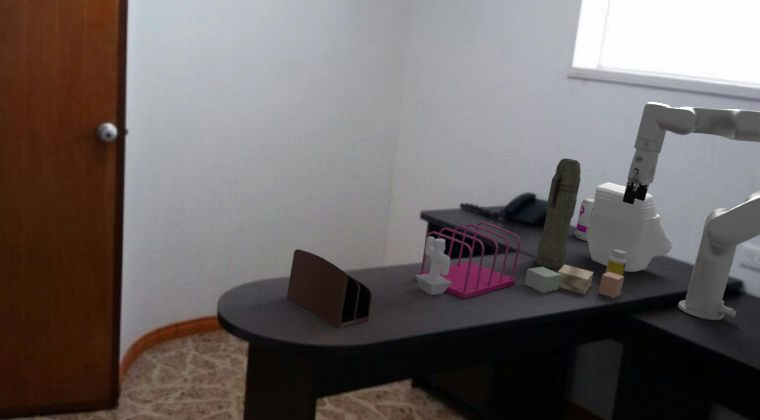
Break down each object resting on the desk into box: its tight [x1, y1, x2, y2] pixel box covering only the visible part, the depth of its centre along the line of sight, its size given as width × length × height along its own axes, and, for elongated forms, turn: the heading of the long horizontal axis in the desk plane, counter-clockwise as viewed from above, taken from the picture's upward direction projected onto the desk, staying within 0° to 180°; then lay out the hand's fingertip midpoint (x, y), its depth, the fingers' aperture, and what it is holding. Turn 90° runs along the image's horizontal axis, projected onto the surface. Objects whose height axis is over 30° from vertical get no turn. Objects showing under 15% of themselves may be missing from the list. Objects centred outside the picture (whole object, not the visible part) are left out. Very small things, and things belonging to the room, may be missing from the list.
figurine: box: [415, 236, 452, 296], centre depth 205 cm, size 7×9×15 cm
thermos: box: [535, 158, 582, 270], centre depth 243 cm, size 9×12×35 cm
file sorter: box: [416, 221, 521, 300], centre depth 216 cm, size 17×25×16 cm
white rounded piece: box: [586, 181, 673, 273], centre depth 254 cm, size 21×27×26 cm
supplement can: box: [574, 197, 594, 242], centre depth 285 cm, size 8×8×15 cm
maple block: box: [557, 264, 595, 294], centre depth 228 cm, size 9×9×5 cm
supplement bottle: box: [605, 249, 626, 276], centre depth 239 cm, size 5×5×10 cm
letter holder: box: [286, 248, 373, 328], centre depth 182 cm, size 10×20×14 cm, turn 45°
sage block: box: [524, 266, 561, 293], centre depth 223 cm, size 7×7×5 cm
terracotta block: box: [598, 271, 625, 297], centre depth 225 cm, size 5×5×6 cm
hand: (633, 201), depth 224 cm, fingers open, 9 cm apart
